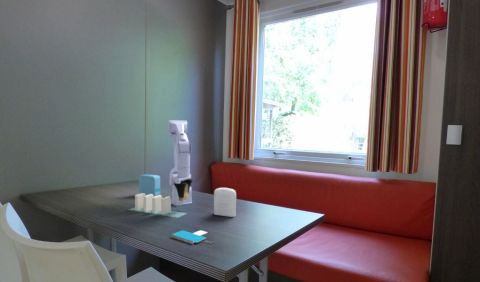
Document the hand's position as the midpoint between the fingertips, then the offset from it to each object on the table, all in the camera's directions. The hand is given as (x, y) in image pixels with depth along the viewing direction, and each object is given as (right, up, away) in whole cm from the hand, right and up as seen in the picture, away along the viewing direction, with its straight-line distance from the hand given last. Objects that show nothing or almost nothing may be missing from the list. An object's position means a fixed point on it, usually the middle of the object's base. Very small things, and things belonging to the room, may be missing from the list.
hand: (183, 196), depth 138 cm
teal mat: (-12, -7, -2) cm, 14 cm away
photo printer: (+19, -8, -5) cm, 22 cm away
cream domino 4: (-7, -7, -4) cm, 11 cm away
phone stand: (+9, -10, -31) cm, 34 cm away
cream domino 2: (-16, -7, 0) cm, 18 cm away
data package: (-25, -6, +29) cm, 39 cm away
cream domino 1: (-21, -7, +2) cm, 22 cm away
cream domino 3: (-12, -7, -2) cm, 14 cm away
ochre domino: (0, -2, 0) cm, 2 cm away
